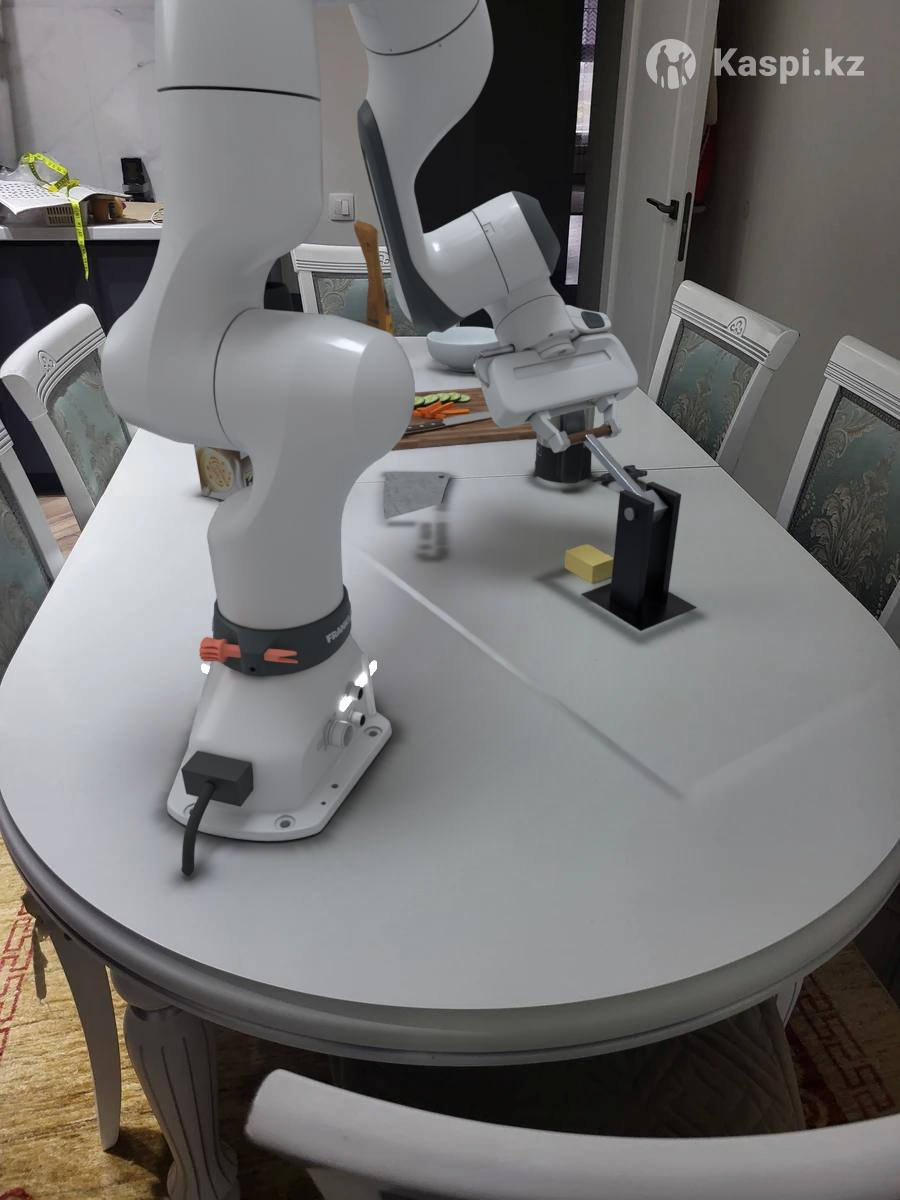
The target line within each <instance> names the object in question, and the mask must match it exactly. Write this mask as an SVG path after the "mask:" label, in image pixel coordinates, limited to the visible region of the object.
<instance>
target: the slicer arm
mask: <svg viewBox="0 0 900 1200" xmlns="http://www.w3.org/2000/svg"><path fill="white" fill-rule="evenodd" d="M609 434H610V428H609V427H608V426H606V425H605V426H602V427H600V426H598V427H594V428H593V429H590V430H586V431H582V432H578V433H574V434H570V435H567V438H568V439H569V440H570V445H574V444H578V443H581V442H583V443H584V444H585V445H586V446H587V447H588V448H589V450H590V451H591V452H592V455H594V457H595V458H596V459H597V461H599V463H600V464H601V465H602V466H603V467H604V468H605V469H606V471H607V472H608V473H610V474H611V475H612V476H613V477H614V478H615V480H614V481H616V482H617V483H618V485H620V486H621V488H622V489H623V490H628V491H630V492H632V493H635V494H637V495H639V496H641V497H643V498H645V499H648V500H650V501H652V502H654V503H655V506H654V514H653V523H656V522H659V521H660V519H661V518H662V516H663V514H664V513H665V511H666V509H667V508H668V506H667V505H666V504H665V503H664V502H663V501H662V500H661V498H660V497H659V496H658V495H657V494H656V493H655V492H654V491H653V490H649V491H646V490H645V491H646V492H645V491H644V490H643V489H642V488H641V487H640V486H639V485H638V483H636V481H634V480H633V479H632V478H631V477H630V476H629V475H628V474H627V472H626V471H625V470H624V469H623V467H622V466H621V464H620V463H619V462H618V461H617V460H616V459H615V458H614V456H613V455H612V454H611V453H610V452H609V451H608V450H607V448H606V447H605V446H604V445H603V444H602V443H601V442H600V441H599V439H600V438H604V436H608V435H609ZM653 523H652V524H653Z"/></svg>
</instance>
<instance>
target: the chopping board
mask: <svg viewBox="0 0 900 1200" xmlns="http://www.w3.org/2000/svg"><path fill="white" fill-rule="evenodd" d="M528 439H537V433H536V432H535V431H534V430H533V428H532V426H531V424H530V422H529V423H525V424H521V425H517V426H512V427H508V428H501V427H500V426H498V425H497V424H496V423H495V422H494V421H493V419H492V417H491V415H490V412H489V409H488V407H487V404H486V401H485V398H484V394H483V391H482V386H481V387H469V388H456V389H442V390H441V389H440V390H428V391H415V402H414V409H413V413H412V417H411V420H410V422H409V425H408V427H407V429H406V431H405V433H404V434H403V436H402V438H401V439H400V441H399V442H398V443H397V444H396V445H395V447H394V448H393V449H392V450H391V451H398V450H411V449H420V448H432V447H444V446H445V447H446V446H455V445H457V446H458V445H470V444H480V443H492V442H505V441H515V440H516V441H517V440H528Z"/></svg>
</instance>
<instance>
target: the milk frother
mask: <svg viewBox="0 0 900 1200" xmlns="http://www.w3.org/2000/svg"><path fill="white" fill-rule="evenodd" d="M595 413H596V406H595V407H591V408H587V409H582V410H578V411H574V412H570V413H566V414H562V415H558V416H554V417H551V419H550V420H549V422H550V423H551V424H552V425H553V426H554V427H555V428H556V429H557V430H558V431H559V432H562V431H565V432H566V434H567V435H570V434H574V433H578V432H582V431H586V430H590V429H594V428H595ZM592 455H593V453H592V452H591V451H590V450H589V448H588V447H587V446H586V445H585V444H584V443H583V442H581V443H578V444H574V445H570V446H569V447H568V448H567V449H566V450H564V451H560V452H557V453H554V452H553V451H552V448H551V446H550V444H549V442H548V441H547V440H545V439H544V438H543V437H541V436H540V435H539V434H538V433H537V438H536V443H535V461H534V471H533V474H532V478H537V477H538V478H539V479H542V480H544V481H546V482H547V481H548V482H553V483H561V484H576V483H577V484H578V483H579V482H581V481H585V480H589V481H591V482H605V481H606V482H607V481H608V482H609V481H616V480H615V478H614V477H613V476H612V475H611V474H610V473H609V472H605V473H602V474H601V475H599V476H595V477H593V475H592ZM622 468H623V469H624V470H625V471H626V472H627V474H628V475H629V476H630V477H631V478H632V479H633V480H634V482H636V481H637V480H638V479H639V478H643V477H646V476H648V470H647V469H646V470H645V469H637V468H636V465H635V464H629V465H624V466H623V467H622Z"/></svg>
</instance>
